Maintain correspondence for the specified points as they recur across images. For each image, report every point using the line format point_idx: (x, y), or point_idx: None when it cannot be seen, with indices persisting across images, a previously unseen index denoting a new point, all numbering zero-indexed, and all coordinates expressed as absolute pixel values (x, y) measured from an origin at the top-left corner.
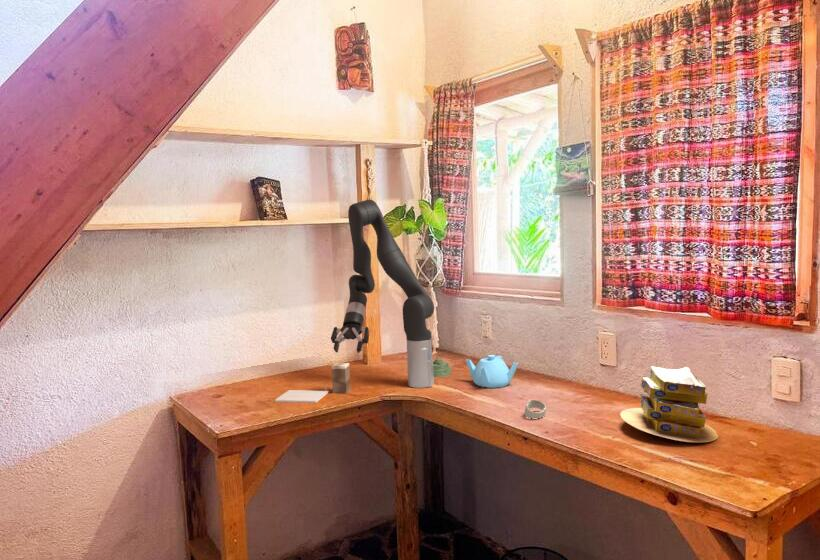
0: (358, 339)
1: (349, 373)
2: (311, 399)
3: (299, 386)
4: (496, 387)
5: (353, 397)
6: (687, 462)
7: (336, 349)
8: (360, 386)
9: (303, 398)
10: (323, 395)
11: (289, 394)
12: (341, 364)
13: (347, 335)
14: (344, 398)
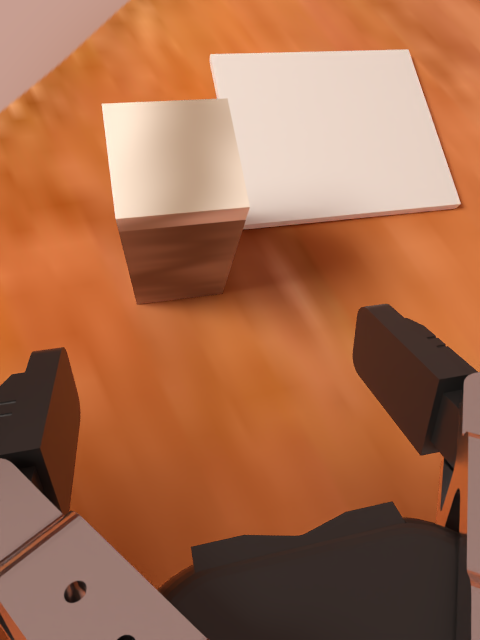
0: (27, 483)
1: (125, 257)
2: (246, 72)
3: (476, 314)
4: None
5: (51, 165)
6: None
7: (361, 311)
8: (103, 399)
9: (294, 82)
10: None
11: (404, 133)
12: (164, 154)
13: (359, 534)
14: (96, 141)
